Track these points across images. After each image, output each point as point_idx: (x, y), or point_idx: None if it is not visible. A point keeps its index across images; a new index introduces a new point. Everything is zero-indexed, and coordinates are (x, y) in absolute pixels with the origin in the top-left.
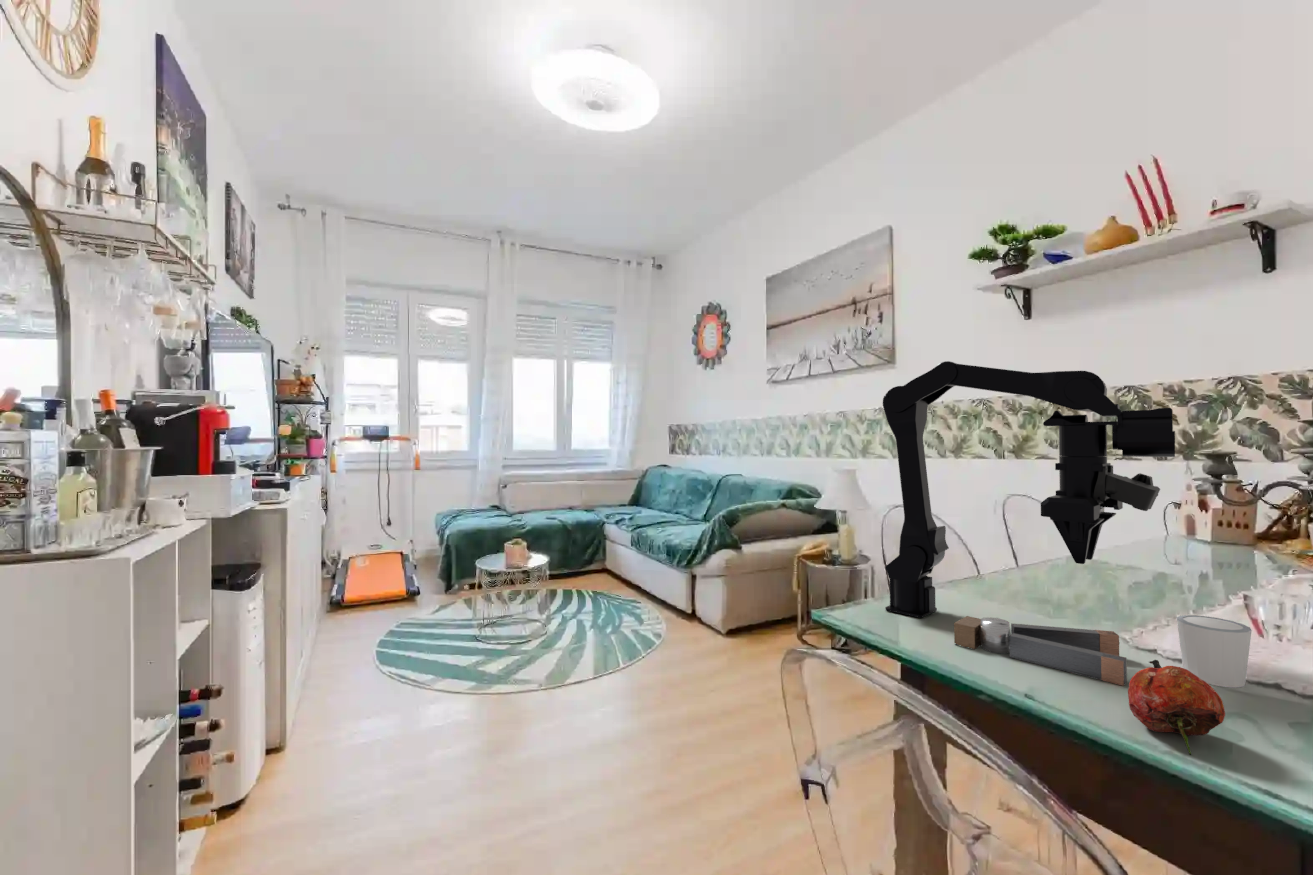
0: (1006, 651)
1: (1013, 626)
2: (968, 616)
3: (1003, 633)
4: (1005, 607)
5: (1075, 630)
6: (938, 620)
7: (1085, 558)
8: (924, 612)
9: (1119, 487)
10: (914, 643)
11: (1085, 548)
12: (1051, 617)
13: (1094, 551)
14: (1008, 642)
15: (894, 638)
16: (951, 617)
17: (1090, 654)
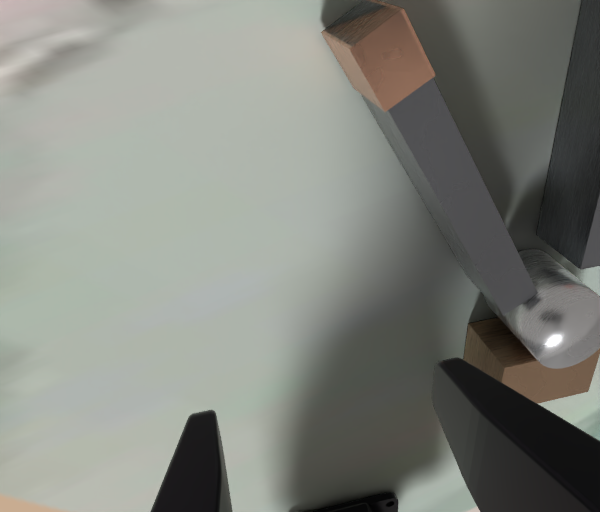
0: (541, 252)
1: (529, 297)
2: None
3: (586, 285)
4: (41, 478)
5: (448, 157)
6: (369, 468)
7: (488, 379)
8: (371, 507)
9: None
10: (591, 391)
11: (590, 441)
12: (5, 356)
13: (172, 466)
14: (549, 264)
15: (581, 426)
16: (313, 472)
17: None
